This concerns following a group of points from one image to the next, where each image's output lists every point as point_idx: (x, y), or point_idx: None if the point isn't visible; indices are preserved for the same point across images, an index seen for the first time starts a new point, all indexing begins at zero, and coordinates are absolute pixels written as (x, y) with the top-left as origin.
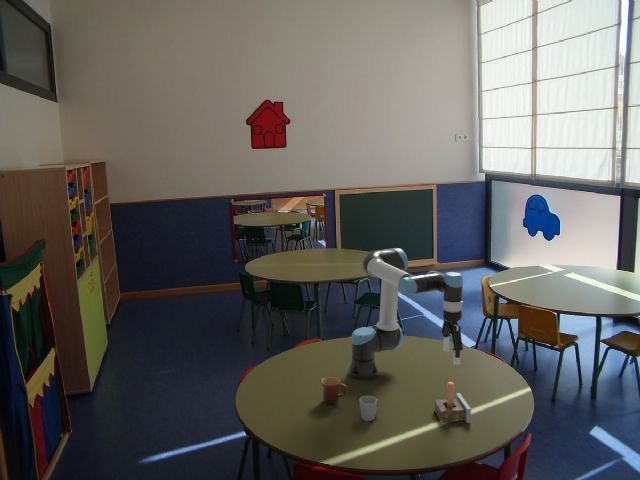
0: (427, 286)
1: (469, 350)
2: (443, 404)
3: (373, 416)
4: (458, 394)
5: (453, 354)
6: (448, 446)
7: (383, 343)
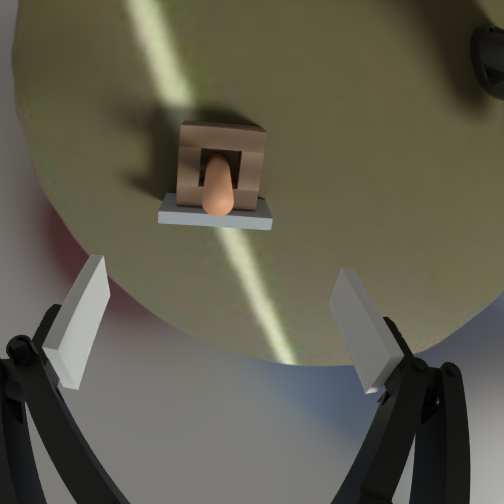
0: None
1: (459, 323)
2: (227, 149)
3: None
4: (263, 222)
5: (69, 309)
6: (64, 105)
7: None
